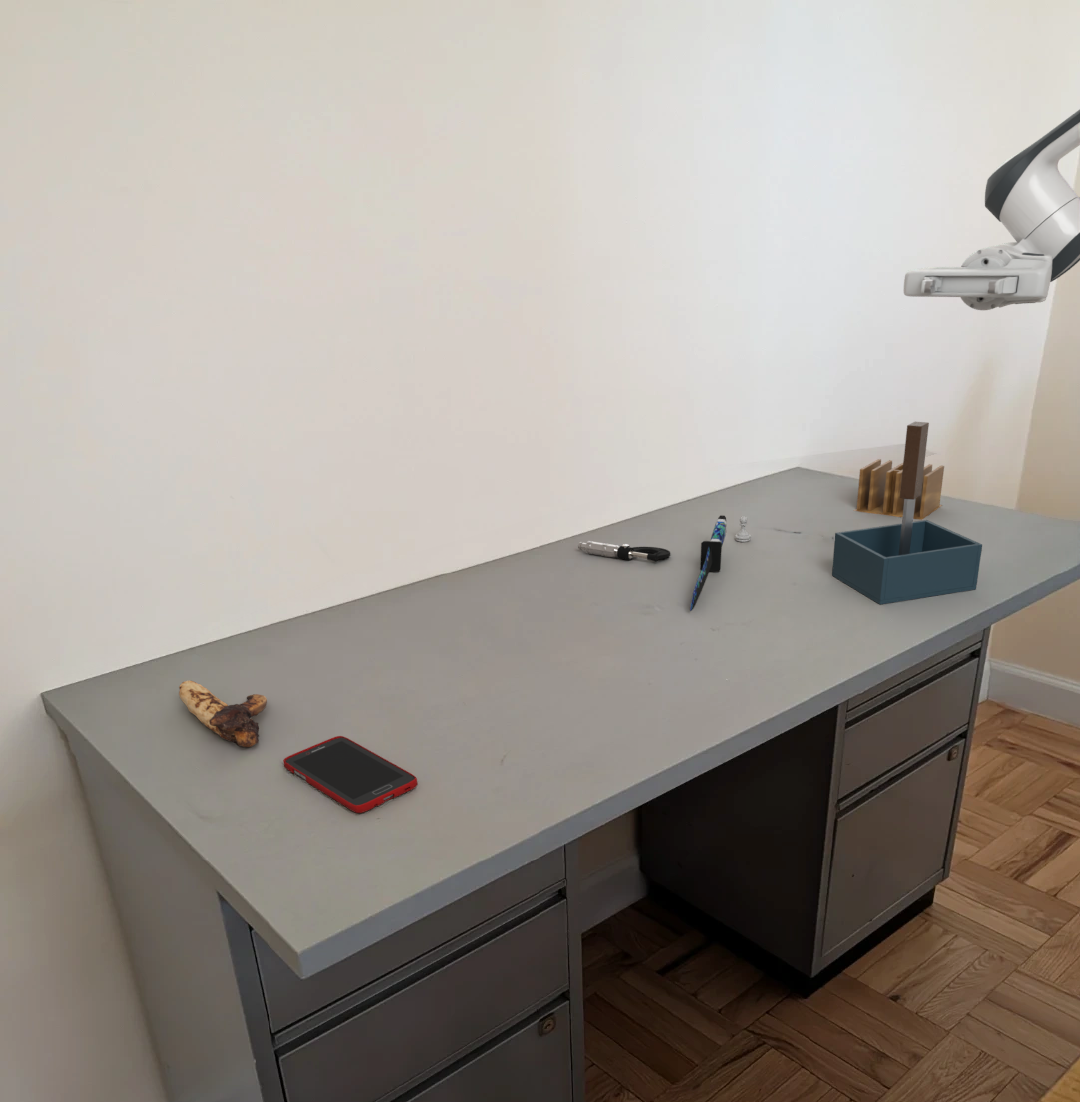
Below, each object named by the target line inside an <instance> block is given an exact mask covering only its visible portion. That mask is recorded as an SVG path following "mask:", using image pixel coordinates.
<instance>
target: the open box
mask: <svg viewBox="0 0 1080 1102" xmlns="http://www.w3.org/2000/svg"><path fill="white" fill-rule="evenodd" d="M901 526H902V522H901V523H895V524H894V523H893V524H888V525H882V526H881V525H880V526H874V527H865V528H860V529H853V530H845V531H838V532H835V533H834V543H833V544H834V545H833V555H832V569H831V572H832V573H831V576H832V577H834V578H835V579H837V580H839V581H840V582H842V583H843V584H845V585H847V586H848V587H850V588H851V589H853V590H854V591H857V592H858V593H859V594H861V595H864V596H865V597H867V598H868V599H870V600H871V601H873V602H875V604H878V605H886V604H893V603H898V602H905V601H911V600H917V599H923V598H930V597H936V596H937V597H938V596H942V595H949V594H955V593H956V594H957V593H963V592H969V591H975V590H977V585H978V579H979V571H980V564H981V557H982V551H983V544H982V543H980V542H978V541H975V540H973V539H971V538H970V537H969V538H968V537H967V536H964V535H962V534H960V533H958V532H955V531H953V530H952V529H948V528H946V527H944V526H942V525H939V524H937V523H936V522H933V521H930V520H928V519H922V520H917V521H913V526H912V535H911V544H910V553H909V554H905V555H898V554H899V545H900V536H901Z"/></svg>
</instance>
